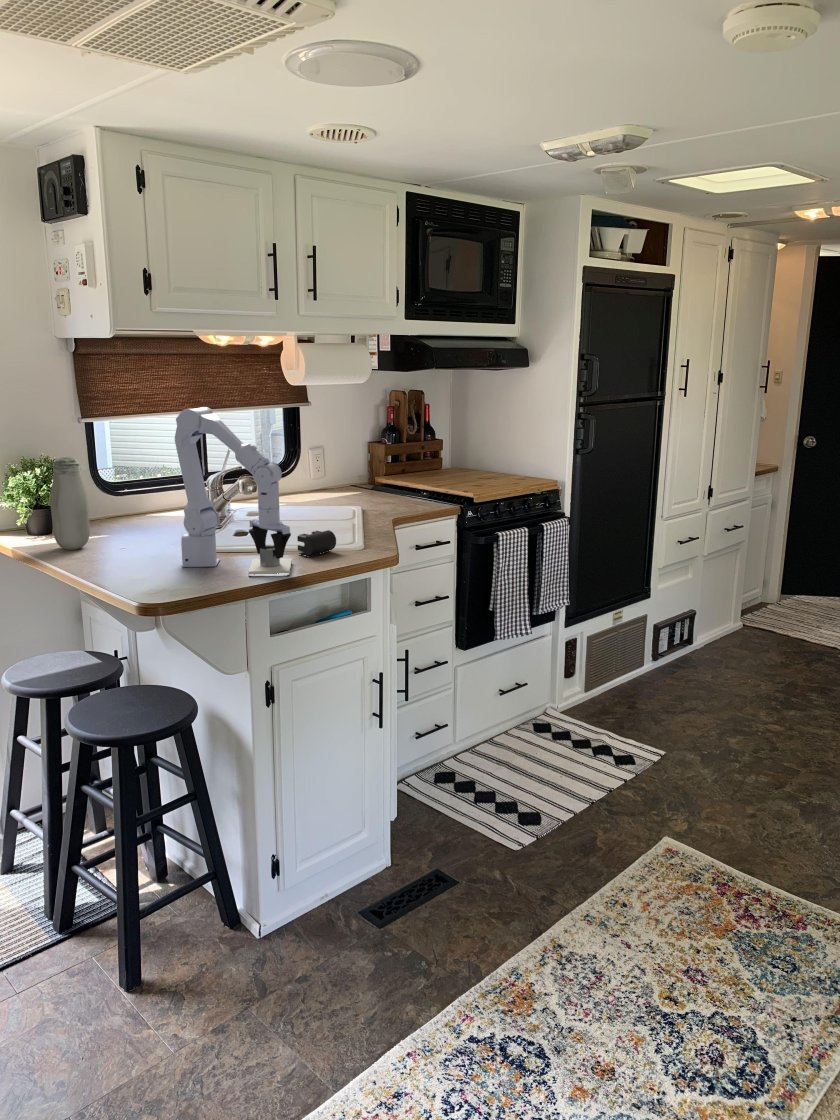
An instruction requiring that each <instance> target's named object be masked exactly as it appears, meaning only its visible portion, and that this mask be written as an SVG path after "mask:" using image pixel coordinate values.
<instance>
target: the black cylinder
mask: <svg viewBox="0 0 840 1120" xmlns="http://www.w3.org/2000/svg"><path fill="white" fill-rule="evenodd" d="M297 542H299V543H303V544H304V545H300V544H298V545H297V551H298V552H299V553H298V555H299V554H301V555H306V556H311V557H313V556H312V555H315V556H317V555H316V554H319V555H321V554H320V553H323V552H326V551H329V550H331V551H332V550H333V549H335V547H336V545H337V537H336V535H335V533H334V532H333V531H331V530H329V529H328V530H324V531H320V530H313V531H311V534H309V533H302V534H301V533H300V534H298V535H297ZM323 554H324V553H323Z"/></svg>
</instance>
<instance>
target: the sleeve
mask: <svg viewBox="0 0 840 1120" xmlns="http://www.w3.org/2000/svg"><path fill="white" fill-rule="evenodd" d="M259 559H260V566H263V567H276V566H279V565H280V559H281V558H278V559H277V558H276V556H275V548H274V544H272V545H271V544H269V545H266V546H261V547H260V554H259Z"/></svg>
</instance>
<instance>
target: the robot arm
mask: <svg viewBox="0 0 840 1120" xmlns="http://www.w3.org/2000/svg"><path fill="white" fill-rule="evenodd" d="M175 421H176V422H175V423H176V429H175V434H174V445H175V447H176V448H175V450H176V454H177V458H178V461H179V462H178V463H179V467H180V471H181V476H182V481H183V485H184V490H185V494H186V499H187V502H186V505H185V507H184V509H183V514H184V518H183V527H184V530H186V532H187V533H183V534H181V540H180V541H181V542H180V543H181V560H182V561H181V562H182V565H181V566H182V568H195V567H197V568H200V567H201V568H202V567H206V568H208V567H217V566H218V564H219V562H220V560H221V559H220V557H219V558H217V557H218V556H217V541H216V540H217V539H216V531H217V529H216V528H217V527H218V525H219V523H220V515H219V512H217V510H216V508H215V504H214V503H213V501H212V500H210V499H209V498H208V494H207V489H206V485H205V480H204V476H203V472H202V471H203V470H202V465H201V462H200V457H199V453H198V447H197V443H198V441H199V440H200V438H201V437H202V436H203V434H206V435H207V434H208V435H212V436H214V437H215V438H217V440H219V441H220V442H221V443H222V444H224V445H225V446H226V447H227V448H229V449H230V450H231V451H232V452H233V453H234V457H235V460H236V461H237V463H239V464H240V465H241V466H242V467H244V468H245V470H247V471H248V472H249V473H250V474H251V475H252V478H253V481H254V483H255V484H256V486H257V505H258V506H257V507H258V508H257V509H258V512H257V513H258V519H256V518H255V519H251V520H249V527H250V529H248V533H249V535H250V537H251V538H252V541H253V543H254V546H255V549H256V553H257V554H258V555H260V547H261V546H266V543H267V542H266V540H267V535H268V531H271V532H276V533H270V536H271V540H272V542H273V545H274V548H275V556H276V558H277V559H278V558H280V559H283V558H284V554H285V550H286V546H287V544H288V541H289V539H290V538H291V535H292V533H291V527H290V525H286V524H285V523H283V521H282V520H280V519H281V517H280V514H281V513H280V487H279V485H280V484H279V482H280V481H281V479H282V477H283V476H282V475H283V472H282V469H281V467H280V466H279V464H278V463H276V462H274V461H270V459H269V458H268V457H265V456H264V455H263V454H261V453H260V451H259V450H257V449H258V448H257V446H256V445H253V444H250V443H244V442H243V441H241V439H240V438H238V436H237V435H236V434H235V433H234V432H233V431H232V430H231V428H229V427H228V426H227V425H226V424H225V423H224V421H222V420H221V418H220V416H219V415H218V414H217V413H216V412H214V411H213V410H212V409H211V408H210V407H207V406H201V407H197V408H185V409H183V410H181V412H180V413H179V414H178V415H177V416H176V418H175Z"/></svg>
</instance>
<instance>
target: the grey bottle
mask: <svg viewBox="0 0 840 1120" xmlns="http://www.w3.org/2000/svg"><path fill="white" fill-rule="evenodd" d="M80 465H81V464H80V463H79V461H78V460H77V459H76V458H75V457H72V456H64V457H59V458H57V459H55V461H54V463H53V465H52V471H53V475H52V485H51V489H50V495H49V496H50V497H49V502H50V504H49V505H50V511H51V512H50V514H51V519H52V520H51V521H52V522H51V523H52V529H53V530H52V532H53V536H54V539H55V542H56V544H57V545H58V546H59V547H60V548H62V549H64V550H70V551H74V550H78V549H81V548H84V546H86V545H87V543H88V542H89V538H90V536H91V526H90V516H89V515H90V514H89V508H90V507H89V498H88V494H87V489H86V486H85V484H84V481H83V478H82V474H81V466H80Z"/></svg>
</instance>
